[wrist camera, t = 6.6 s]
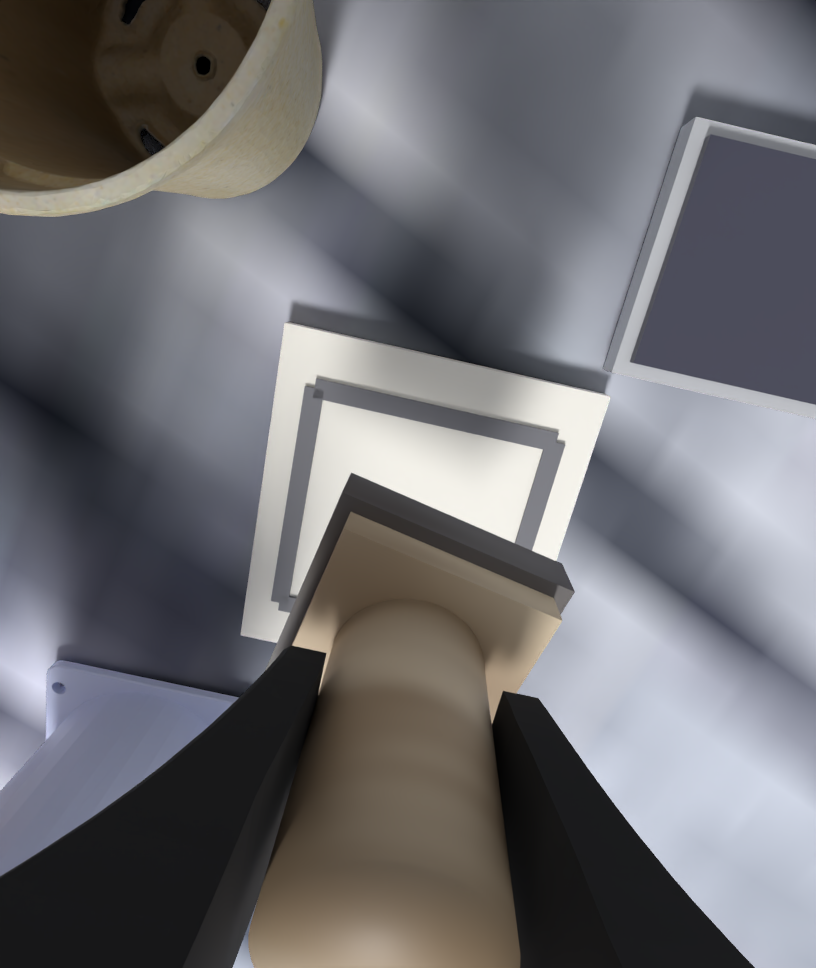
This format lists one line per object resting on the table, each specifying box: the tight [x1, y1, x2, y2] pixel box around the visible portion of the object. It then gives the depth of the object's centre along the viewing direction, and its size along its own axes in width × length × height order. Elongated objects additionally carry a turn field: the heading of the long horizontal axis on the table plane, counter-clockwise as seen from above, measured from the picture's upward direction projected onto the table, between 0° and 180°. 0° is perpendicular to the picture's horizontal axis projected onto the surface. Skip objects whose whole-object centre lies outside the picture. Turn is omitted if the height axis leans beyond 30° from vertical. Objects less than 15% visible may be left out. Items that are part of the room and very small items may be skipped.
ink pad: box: [603, 117, 816, 419], centre depth 15 cm, size 7×7×1 cm
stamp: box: [249, 473, 575, 968], centre depth 9 cm, size 5×5×7 cm
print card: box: [241, 322, 611, 643], centre depth 18 cm, size 11×10×1 cm
